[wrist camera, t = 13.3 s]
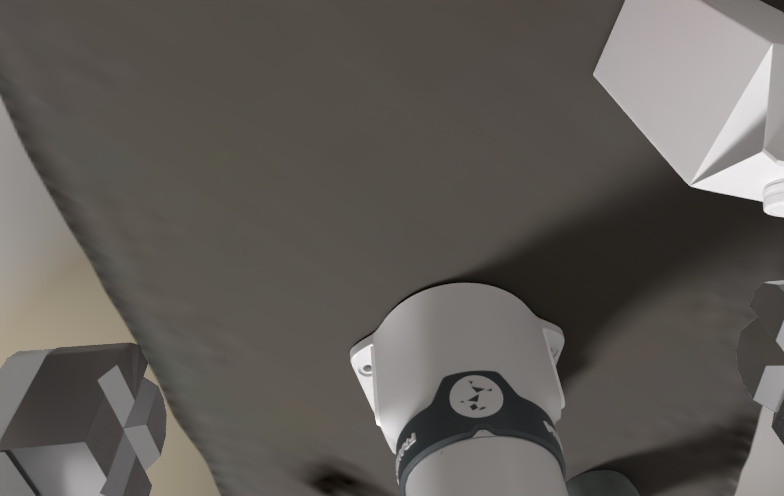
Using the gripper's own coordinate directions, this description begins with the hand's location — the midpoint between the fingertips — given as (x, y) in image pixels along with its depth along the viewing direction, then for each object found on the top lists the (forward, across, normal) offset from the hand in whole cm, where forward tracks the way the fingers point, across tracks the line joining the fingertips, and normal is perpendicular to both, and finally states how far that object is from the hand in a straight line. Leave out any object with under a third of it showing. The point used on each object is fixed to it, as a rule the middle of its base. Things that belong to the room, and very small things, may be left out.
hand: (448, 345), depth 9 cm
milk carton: (+34, -18, +8) cm, 40 cm away
